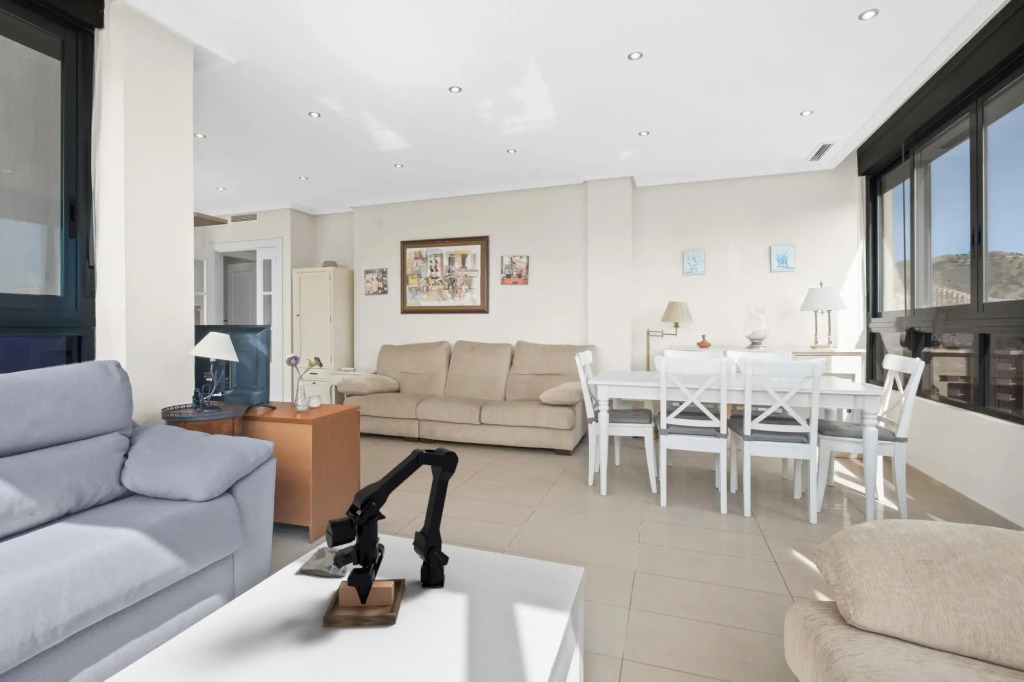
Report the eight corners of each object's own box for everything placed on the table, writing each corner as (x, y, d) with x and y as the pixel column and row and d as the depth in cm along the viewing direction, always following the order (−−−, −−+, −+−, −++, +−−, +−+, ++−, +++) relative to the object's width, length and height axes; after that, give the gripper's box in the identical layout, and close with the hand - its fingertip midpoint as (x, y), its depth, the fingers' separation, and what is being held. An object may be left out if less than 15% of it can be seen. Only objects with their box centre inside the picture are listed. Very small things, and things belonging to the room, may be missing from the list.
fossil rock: (318, 552, 164) (318, 545, 164) (362, 553, 164) (362, 546, 164) (294, 578, 147) (295, 571, 147) (344, 579, 147) (344, 572, 146)
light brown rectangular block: (394, 599, 134) (394, 581, 134) (391, 605, 131) (391, 586, 131) (342, 599, 133) (342, 581, 133) (339, 606, 130) (339, 587, 130)
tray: (405, 586, 142) (405, 578, 142) (395, 624, 124) (395, 614, 124) (341, 588, 140) (341, 580, 140) (322, 627, 122) (322, 617, 122)
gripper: (345, 524, 140) (345, 578, 141) (326, 554, 122) (326, 616, 122) (384, 523, 141) (384, 576, 141) (371, 553, 122) (371, 614, 123)
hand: (367, 594), depth 132 cm, fingers open, 9 cm apart
